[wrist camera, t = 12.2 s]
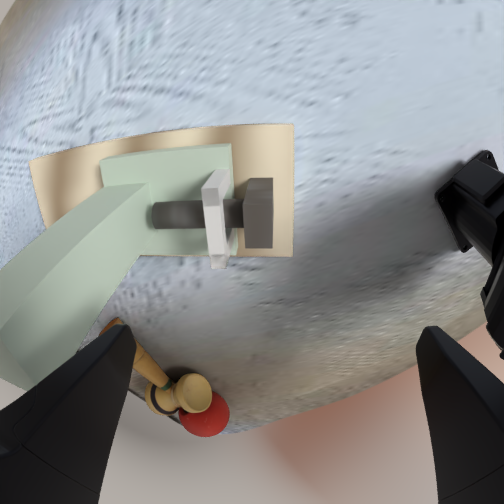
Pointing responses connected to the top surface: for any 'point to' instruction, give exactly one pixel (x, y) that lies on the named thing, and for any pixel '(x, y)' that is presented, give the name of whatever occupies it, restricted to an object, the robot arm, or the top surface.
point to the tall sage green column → (106, 252)
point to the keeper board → (246, 160)
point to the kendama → (181, 395)
